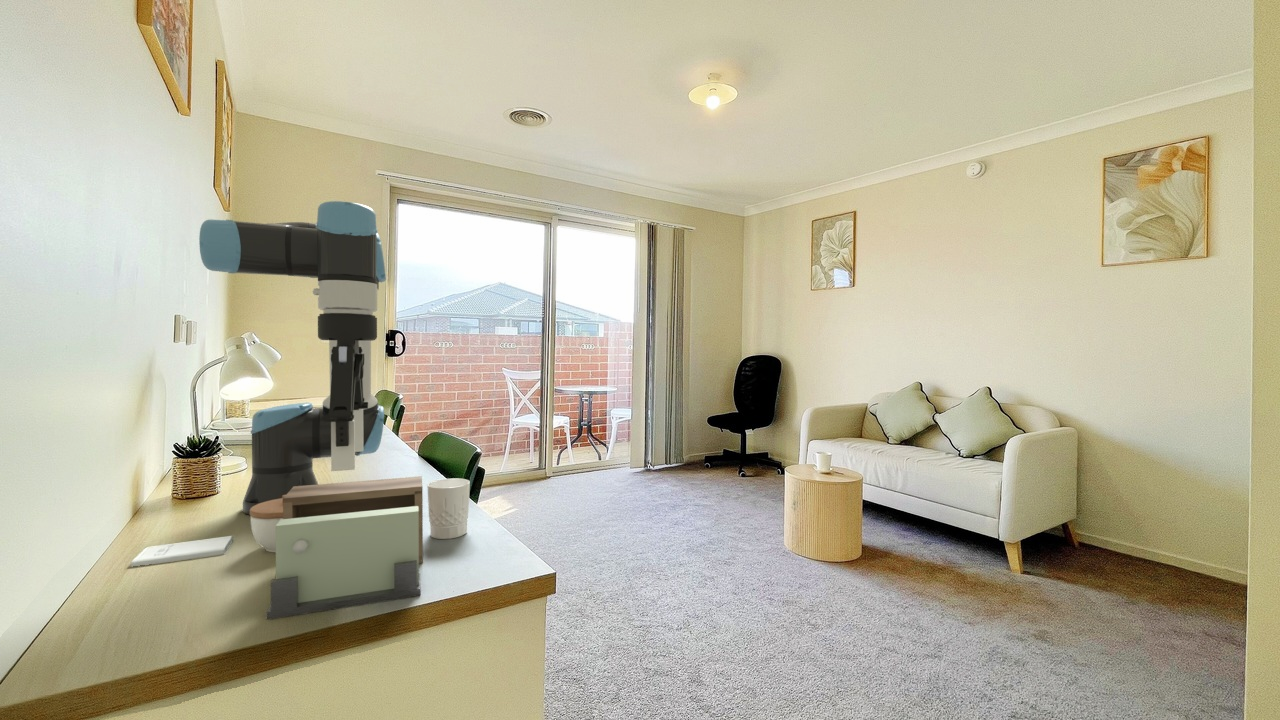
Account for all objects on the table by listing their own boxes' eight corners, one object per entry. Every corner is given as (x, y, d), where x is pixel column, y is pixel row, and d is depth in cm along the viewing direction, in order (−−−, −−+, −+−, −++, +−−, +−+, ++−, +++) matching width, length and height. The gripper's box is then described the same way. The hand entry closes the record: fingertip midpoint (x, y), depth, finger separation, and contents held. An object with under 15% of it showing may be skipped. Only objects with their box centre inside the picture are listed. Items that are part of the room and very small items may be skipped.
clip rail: (277, 600, 78) (276, 565, 78) (420, 579, 85) (419, 547, 85) (266, 619, 72) (266, 582, 72) (420, 595, 80) (420, 561, 79)
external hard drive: (224, 557, 95) (130, 570, 90) (233, 543, 103) (147, 554, 97) (224, 548, 95) (130, 561, 90) (233, 534, 103) (147, 545, 97)
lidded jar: (286, 559, 93) (285, 505, 93) (234, 554, 95) (234, 501, 95) (333, 538, 104) (333, 489, 103) (285, 534, 106) (285, 486, 106)
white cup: (420, 533, 106) (420, 483, 106) (457, 524, 112) (457, 476, 112) (439, 543, 101) (439, 490, 101) (477, 533, 107) (477, 482, 107)
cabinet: (294, 563, 91) (293, 486, 91) (421, 547, 99) (421, 476, 99) (283, 582, 84) (283, 498, 84) (422, 562, 92) (422, 486, 92)
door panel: (418, 576, 84) (418, 505, 83) (418, 587, 80) (418, 513, 80) (281, 597, 77) (280, 519, 77) (274, 610, 73) (273, 528, 73)
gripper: (330, 316, 88) (331, 446, 89) (301, 306, 65) (302, 482, 66) (381, 317, 91) (382, 444, 91) (370, 308, 68) (371, 477, 68)
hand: (348, 460), depth 78 cm, fingers open, 13 cm apart
